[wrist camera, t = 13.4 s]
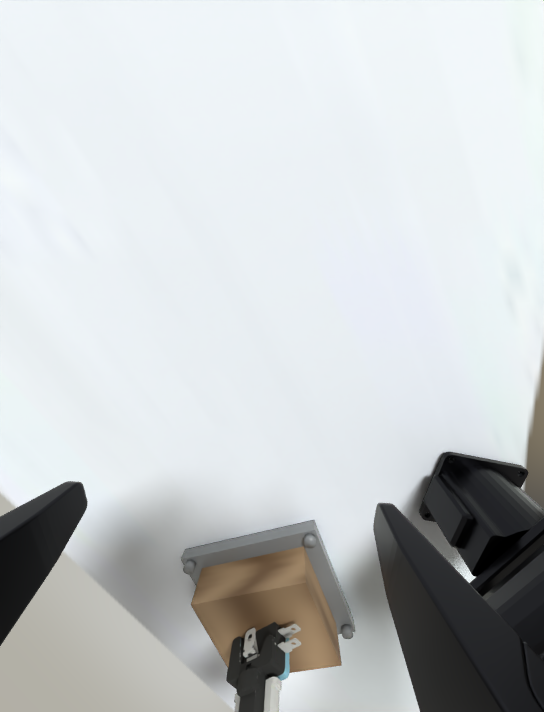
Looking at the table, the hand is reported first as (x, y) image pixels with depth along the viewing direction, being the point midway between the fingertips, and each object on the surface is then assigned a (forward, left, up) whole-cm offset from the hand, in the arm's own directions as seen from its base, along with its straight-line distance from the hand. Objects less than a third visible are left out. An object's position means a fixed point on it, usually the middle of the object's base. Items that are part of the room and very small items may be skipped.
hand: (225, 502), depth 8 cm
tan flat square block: (-4, +22, -12) cm, 26 cm away
